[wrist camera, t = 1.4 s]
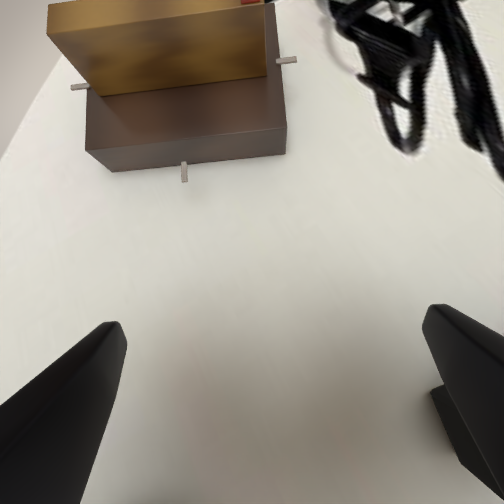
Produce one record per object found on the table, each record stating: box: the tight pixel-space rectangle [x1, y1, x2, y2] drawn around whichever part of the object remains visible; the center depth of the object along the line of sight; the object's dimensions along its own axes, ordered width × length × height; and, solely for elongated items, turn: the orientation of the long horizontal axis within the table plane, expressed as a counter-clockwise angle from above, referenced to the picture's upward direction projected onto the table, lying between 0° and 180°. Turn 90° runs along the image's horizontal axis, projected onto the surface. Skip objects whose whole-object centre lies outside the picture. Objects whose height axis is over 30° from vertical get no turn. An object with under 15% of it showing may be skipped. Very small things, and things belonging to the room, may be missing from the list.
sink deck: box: [71, 3, 297, 183], centre depth 23 cm, size 16×16×4 cm
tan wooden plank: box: [46, 0, 267, 96], centre depth 18 cm, size 12×2×5 cm, turn 94°
